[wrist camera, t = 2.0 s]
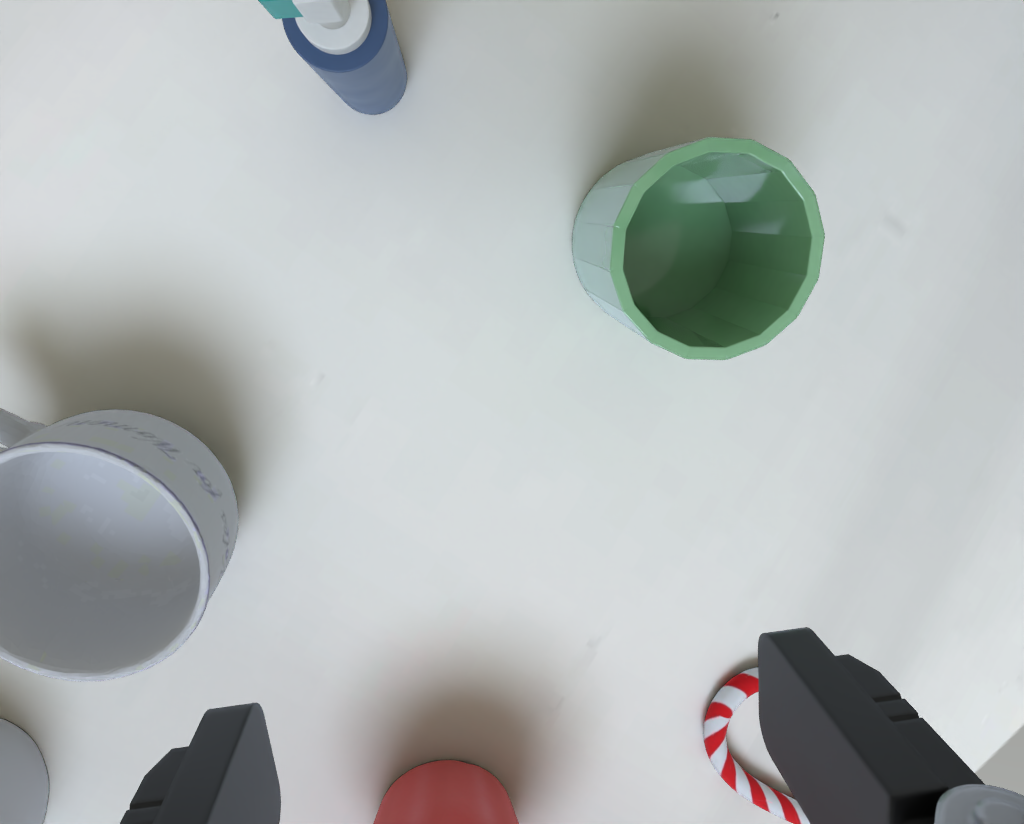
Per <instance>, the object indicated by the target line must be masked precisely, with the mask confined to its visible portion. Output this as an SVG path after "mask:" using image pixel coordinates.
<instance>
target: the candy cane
mask: <svg viewBox="0 0 1024 824" xmlns="http://www.w3.org/2000/svg"><path fill="white" fill-rule="evenodd" d="M756 692H759V681H758V667H757V668H752V669H749V670H746V671H743V672H741V673H740V674H738V675H736V676H734V677H733V678H732V679H731V680H729V681H728V682H727V683H726V684H725V685H724V686H723V687H722V688H721V689H720V690H719V691H718V693H717V694H716V696H715V697H714V699H713V700H712V702H711V704H710V706H709V708H708V711H707V714H706V717H705V722H704V732H703V734H704V743H705V748H706V751H707V754H708V757H709V759H710V761H711V763H712V765H713V766H714V768H715V769H716V771H717V772H718V774H719V775H720V776H721V777H722V778H723V779H724V781H725V782H726V783H727V784H728V785H729V786H730V787H731V788H733V789H734V790H735V791H736V792H737V793H739V794H740V795H741V796H743V797H744V798H745V799H747V800H749V801H750V802H752V803H753V804H755V805H757V806H759V807H761V808H762V809H764V810H766V811H768V812H770V813H772V814H774V815H776V816H778V817H780V818H783V819H785V820H787V821H789V822H791V823H793V824H810V822H809V820H808V819H807V817H806V815H805V814H804V812H803V810H802V809H801V807H800V805H799V804H798V802H797V800H795V799H793V798H791V797H789V796H787V795H785V794H783V793H781V792H779V791H777V790H775V789H773V788H771V787H769V786H767V785H765V784H764V783H762V782H760V781H759V780H757V779H755V778H754V777H753V776H751V775H750V774H748V773H747V772H746V771H745V770H744V769H742V768H741V767H740V766H739V765H738V763H737V762H736V761H735V760H734V759H733V757H732V755H731V754H730V752H729V749H728V746H727V742H726V731H727V726H728V723H729V721H730V718H731V716H732V715H733V713H734V711H735V710H736V709H737V707H738V706H739V705H740V704H741V703H742V702H743V701H744V700H745V699H747V698H748V697H749V696H750V695H752V694H754V693H756Z"/></svg>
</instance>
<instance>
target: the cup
mask: <svg viewBox="0 0 1024 824" xmlns="http://www.w3.org/2000/svg"><path fill="white" fill-rule="evenodd" d="M824 235H825V233H824V229H823V225H822V221H821V216H820V212H819V208H818V204H817V199H816V195H815V194H814V191H813V190H812V189H811V187H810V186H809V185H808V183H807V182H806V181H805V179H804V178H803V177H802V175H801V174H800V173H799V171H798V170H797V169H796V167H795V166H794V165H793V163H792V162H791V161H790V160H789V159H788V158H786V157H784V156H782V155H780V154H779V153H777V152H775V151H773V150H771V149H769V148H767V147H766V146H764V145H762V144H760V143H758V142H756V141H754V140H751V139H738V138H719V137H709V138H708V137H707V138H704V139H700V140H696V141H692V142H689V143H685V144H681V145H678V146H674V147H670V148H666V149H663V150H659V151H655V152H652V153H648V154H645V155H643V156H640V157H638V158H635V159H631V160H629V161H626V162H624V163H622V164H619V165H618V166H616V167H615V168H613V169H612V170H610V171H609V172H608V173H606V174H605V175H604V176H603V177H601V178H600V179H599V180H598V182H597V183H596V184H595V185H594V186H593V187H592V188H591V190H590V191H589V193H588V194H587V195H586V197H585V199H584V201H583V202H582V204H581V206H580V209H579V211H578V214H577V216H576V220H575V224H574V228H573V236H572V253H573V260H574V265H575V268H576V272H577V274H578V277H579V279H580V282H581V283H582V285H583V287H584V289H585V290H586V292H587V293H588V294H589V296H590V297H591V298H592V300H593V301H595V302H596V303H597V304H598V305H599V306H600V307H601V308H602V309H603V310H604V312H605V313H607V314H608V315H610V316H611V317H613V318H614V319H616V320H617V321H619V322H620V323H622V324H623V325H625V326H626V327H628V328H629V329H631V330H632V331H634V332H635V333H637V334H638V335H640V336H641V337H643V338H644V339H646V340H647V341H649V342H650V343H652V344H654V345H657V346H659V347H661V348H663V349H665V350H667V351H669V352H672V353H674V354H676V355H678V356H680V357H682V358H686V359H703V360H728V359H730V358H733V357H736V356H738V355H741V354H744V353H746V352H749V351H752V350H754V349H757V348H760V347H762V346H764V345H766V344H768V343H769V342H770V341H771V340H772V339H773V338H774V337H776V336H777V335H778V334H779V333H780V332H781V331H782V330H784V329H785V328H786V327H787V326H788V325H789V324H790V323H792V322H793V321H794V320H795V319H796V318H797V316H798V315H799V314H800V312H801V310H802V308H803V306H804V304H805V303H806V301H807V299H808V297H809V295H810V293H811V292H812V290H813V288H814V286H815V284H816V283H817V281H818V278H819V272H820V266H821V259H822V252H823V245H824V238H825V236H824Z"/></svg>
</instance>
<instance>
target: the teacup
mask: <svg viewBox="0 0 1024 824" xmlns="http://www.w3.org/2000/svg"><path fill="white" fill-rule="evenodd" d="M0 443H1V444H3V445H5V446H7V447H9V448H2V447H0V658H2V659H3V660H5V661H7V662H9V663H11V664H14V665H16V666H18V667H20V668H22V669H25V670H28V671H31V672H33V673H36V674H40V675H43V676H47V677H50V678H57V679H62V680H68V681H104V680H109V679H115V678H120V677H125V676H128V675H131V674H134V673H137V672H139V671H142V670H145V669H148V668H150V667H152V666H153V665H155V664H157V663H159V662H161V661H162V660H164V659H166V658H167V657H169V656H170V655H172V654H173V653H174V652H175V651H176V650H177V649H178V648H179V647H180V646H181V645H182V644H183V643H184V642H185V641H186V640H187V639H188V638H189V636H190V635H191V634H192V633H193V631H194V630H195V629H196V627H197V626H198V624H199V622H200V620H201V618H202V616H203V614H204V611H205V609H206V606H207V603H208V601H209V599H210V598H211V596H212V594H213V592H214V591H215V589H216V587H217V586H218V584H219V582H220V580H221V578H222V576H223V574H224V572H225V570H226V568H227V565H228V563H229V561H230V559H231V556H232V553H233V550H234V547H235V543H236V539H237V532H238V508H237V500H236V496H235V493H234V489H233V486H232V484H231V481H230V479H229V477H228V475H227V473H226V471H225V469H224V468H223V466H222V465H221V463H220V462H219V461H218V459H217V458H216V457H215V455H214V454H213V453H212V452H211V451H210V450H209V449H208V448H207V446H206V445H205V444H204V443H202V442H201V441H200V440H199V439H198V438H196V437H195V436H194V435H192V434H191V433H190V432H188V431H187V430H185V429H184V428H182V427H180V426H178V425H176V424H175V423H173V422H171V421H168V420H166V419H163V418H161V417H158V416H154V415H151V414H148V413H143V412H137V411H131V410H116V409H111V410H99V411H91V412H86V413H82V414H78V415H75V416H72V417H69V418H66V419H63V420H61V421H58V422H56V423H54V424H52V425H50V426H48V427H47V426H45V425H44V424H40V423H36V422H29V421H27V420H24V419H22V418H20V417H18V416H16V415H14V414H12V413H10V412H8V411H6V410H3V409H1V408H0Z"/></svg>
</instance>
